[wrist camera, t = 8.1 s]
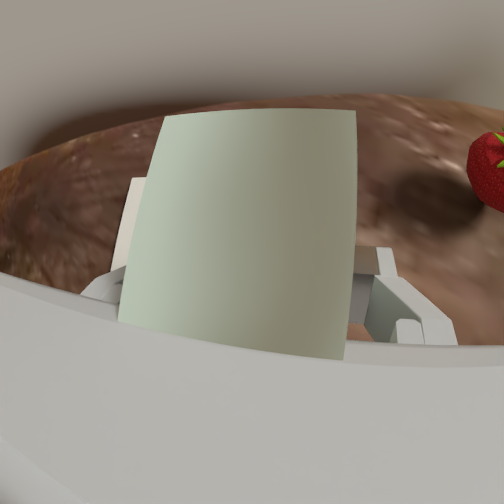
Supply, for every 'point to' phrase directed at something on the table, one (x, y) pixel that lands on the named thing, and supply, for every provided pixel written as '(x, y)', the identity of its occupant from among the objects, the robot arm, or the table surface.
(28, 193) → the table surface
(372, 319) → the robot arm
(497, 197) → the strawberry
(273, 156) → the handle block
